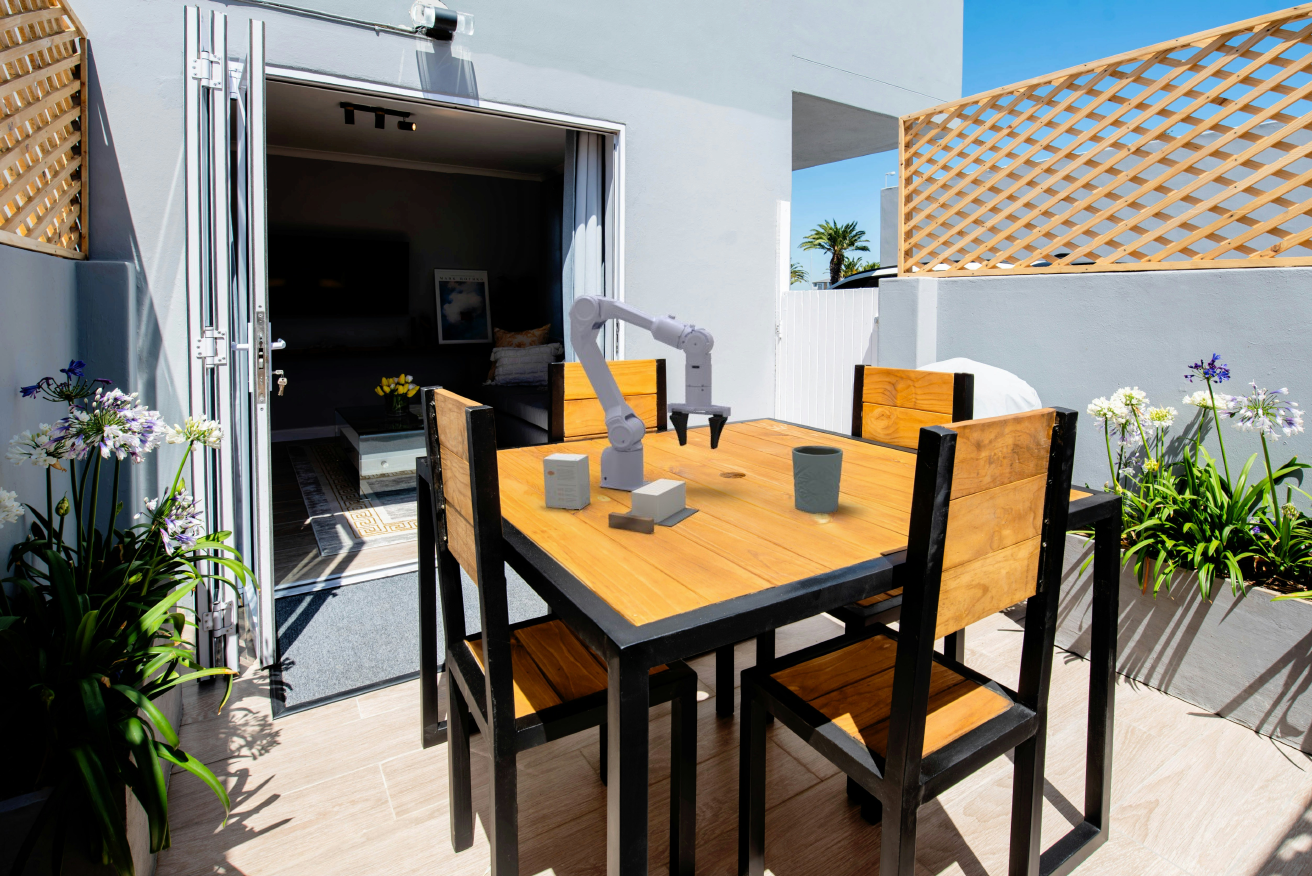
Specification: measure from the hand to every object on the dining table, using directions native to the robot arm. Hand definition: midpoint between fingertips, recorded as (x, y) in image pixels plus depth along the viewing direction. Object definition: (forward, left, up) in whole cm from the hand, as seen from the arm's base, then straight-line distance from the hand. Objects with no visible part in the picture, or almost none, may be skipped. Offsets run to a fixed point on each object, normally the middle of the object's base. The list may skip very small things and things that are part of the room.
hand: (698, 446), depth 157 cm
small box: (-19, -23, -10) cm, 32 cm away
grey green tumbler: (+27, -1, -10) cm, 29 cm away
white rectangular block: (+1, -20, -10) cm, 22 cm away
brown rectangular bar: (+1, -31, -10) cm, 32 cm away
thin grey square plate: (+1, -20, -10) cm, 22 cm away
